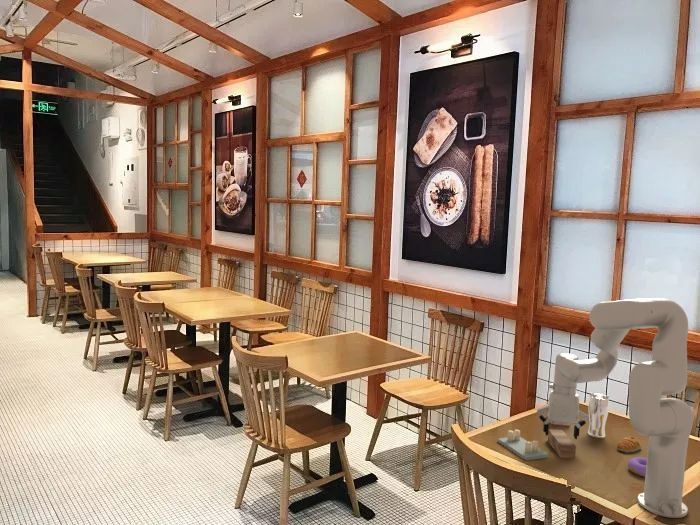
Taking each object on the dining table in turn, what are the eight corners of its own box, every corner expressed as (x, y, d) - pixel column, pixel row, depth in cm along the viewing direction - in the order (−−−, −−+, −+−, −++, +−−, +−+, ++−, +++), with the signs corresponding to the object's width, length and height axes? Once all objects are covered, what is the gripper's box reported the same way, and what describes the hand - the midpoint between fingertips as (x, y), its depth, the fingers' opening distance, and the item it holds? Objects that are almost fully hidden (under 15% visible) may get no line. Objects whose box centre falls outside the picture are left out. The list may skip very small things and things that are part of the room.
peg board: (547, 457, 193) (548, 444, 193) (525, 460, 190) (526, 447, 190) (518, 439, 208) (519, 426, 208) (497, 441, 205) (498, 429, 205)
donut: (630, 461, 192) (635, 448, 191) (660, 475, 186) (664, 462, 185) (622, 471, 184) (627, 458, 183) (653, 486, 179) (658, 473, 177)
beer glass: (585, 435, 213) (588, 397, 212) (587, 429, 220) (590, 392, 218) (605, 439, 210) (608, 400, 209) (607, 433, 216) (610, 395, 215)
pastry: (630, 456, 197) (631, 445, 197) (611, 449, 202) (612, 439, 202) (642, 449, 203) (642, 439, 203) (623, 443, 208) (623, 433, 208)
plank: (575, 458, 194) (576, 446, 193) (560, 458, 194) (561, 445, 193) (561, 442, 208) (562, 430, 207) (547, 441, 208) (548, 429, 207)
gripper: (539, 389, 197) (536, 437, 199) (593, 395, 193) (588, 443, 195) (537, 383, 204) (534, 428, 206) (589, 388, 201) (584, 434, 203)
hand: (560, 435), depth 201 cm, fingers open, 9 cm apart
